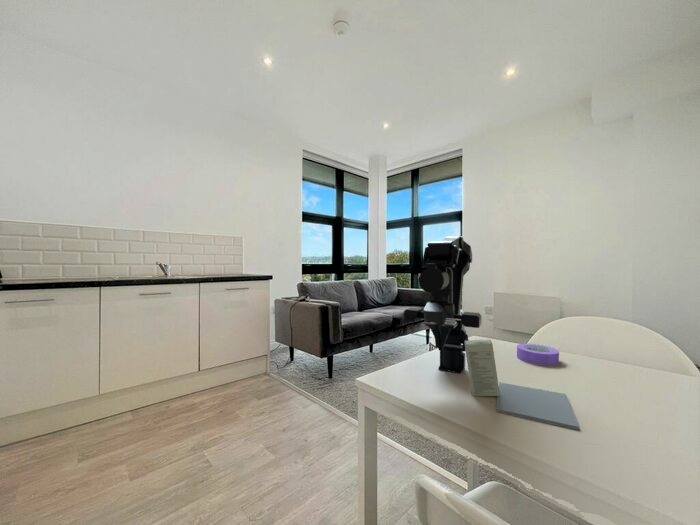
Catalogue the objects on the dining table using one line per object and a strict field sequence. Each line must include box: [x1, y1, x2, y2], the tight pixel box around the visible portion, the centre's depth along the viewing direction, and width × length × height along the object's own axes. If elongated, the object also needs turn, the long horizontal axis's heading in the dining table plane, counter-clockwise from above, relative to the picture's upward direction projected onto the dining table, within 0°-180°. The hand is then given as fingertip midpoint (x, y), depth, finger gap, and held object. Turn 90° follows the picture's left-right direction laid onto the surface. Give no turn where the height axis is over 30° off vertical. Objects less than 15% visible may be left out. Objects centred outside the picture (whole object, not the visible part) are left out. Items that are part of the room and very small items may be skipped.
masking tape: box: [516, 343, 560, 366], centre depth 96 cm, size 12×12×4 cm
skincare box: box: [465, 339, 500, 397], centre depth 71 cm, size 6×4×12 cm
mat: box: [495, 381, 580, 431], centre depth 66 cm, size 14×16×1 cm
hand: (440, 350), depth 75 cm, fingers closed
